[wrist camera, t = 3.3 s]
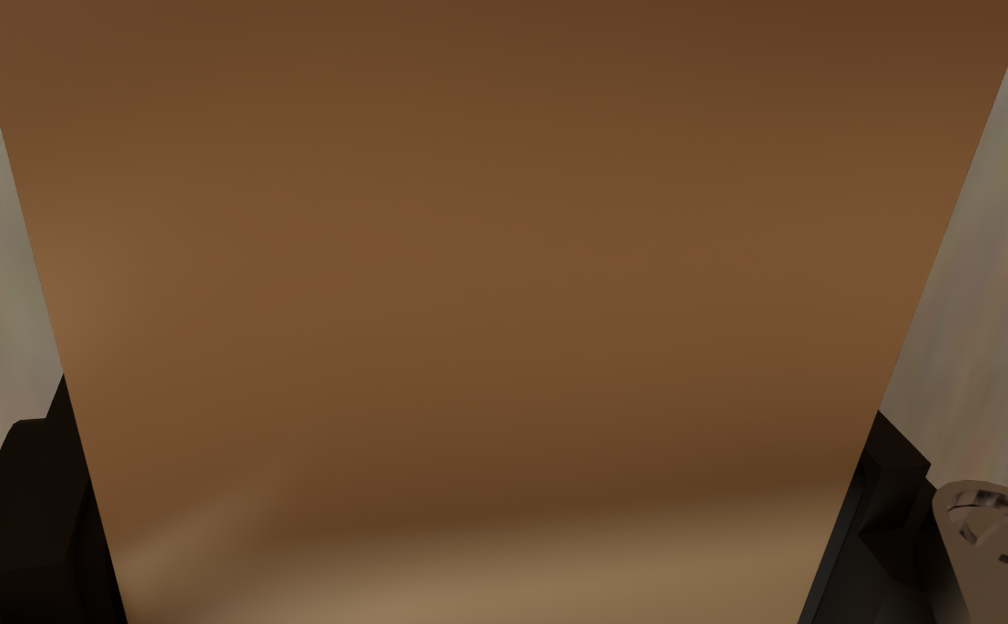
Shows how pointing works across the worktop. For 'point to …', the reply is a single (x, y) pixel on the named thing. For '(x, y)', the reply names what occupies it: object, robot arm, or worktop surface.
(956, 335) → the worktop surface
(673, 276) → the wooden block
